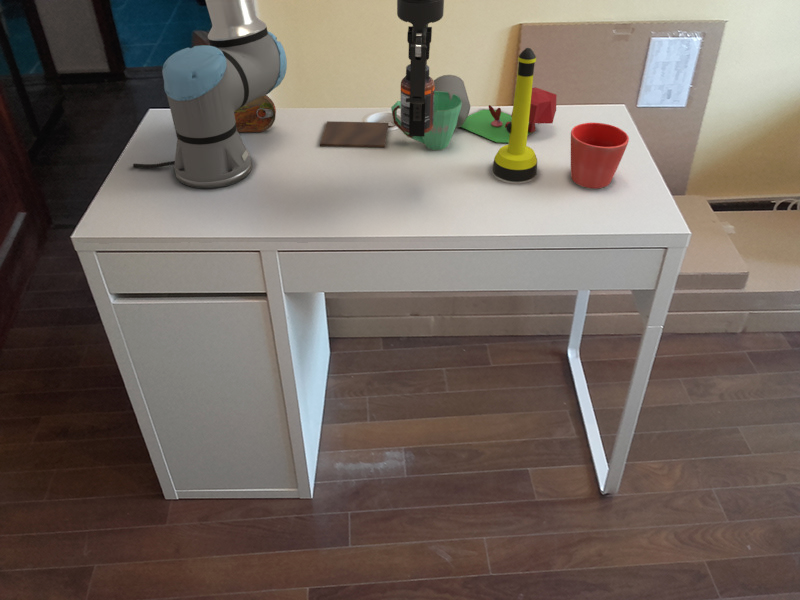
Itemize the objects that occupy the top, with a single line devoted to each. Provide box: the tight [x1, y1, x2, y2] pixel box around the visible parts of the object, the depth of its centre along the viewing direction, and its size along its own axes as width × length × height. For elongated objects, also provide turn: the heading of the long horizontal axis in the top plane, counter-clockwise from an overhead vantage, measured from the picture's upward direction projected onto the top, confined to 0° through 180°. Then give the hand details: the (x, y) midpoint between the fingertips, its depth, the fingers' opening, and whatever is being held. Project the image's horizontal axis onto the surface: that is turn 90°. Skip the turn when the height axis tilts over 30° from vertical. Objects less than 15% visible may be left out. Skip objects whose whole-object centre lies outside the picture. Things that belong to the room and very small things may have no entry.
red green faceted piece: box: [459, 86, 558, 144], centre depth 151 cm, size 15×20×9 cm
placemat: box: [319, 120, 389, 148], centre depth 152 cm, size 14×11×1 cm
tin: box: [234, 94, 277, 133], centre depth 152 cm, size 15×3×8 cm, turn 92°
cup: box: [433, 74, 471, 130], centre depth 152 cm, size 10×9×10 cm
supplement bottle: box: [400, 63, 435, 133], centre depth 121 cm, size 6×6×11 cm
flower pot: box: [570, 122, 630, 190], centre depth 133 cm, size 11×11×10 cm
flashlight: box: [491, 47, 538, 185], centre depth 131 cm, size 25×9×9 cm
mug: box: [390, 91, 462, 151], centre depth 145 cm, size 15×10×10 cm
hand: (417, 126), depth 124 cm, fingers closed on supplement bottle, 6 cm apart
